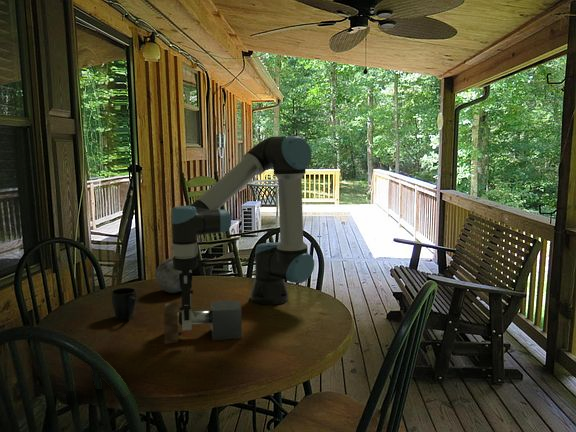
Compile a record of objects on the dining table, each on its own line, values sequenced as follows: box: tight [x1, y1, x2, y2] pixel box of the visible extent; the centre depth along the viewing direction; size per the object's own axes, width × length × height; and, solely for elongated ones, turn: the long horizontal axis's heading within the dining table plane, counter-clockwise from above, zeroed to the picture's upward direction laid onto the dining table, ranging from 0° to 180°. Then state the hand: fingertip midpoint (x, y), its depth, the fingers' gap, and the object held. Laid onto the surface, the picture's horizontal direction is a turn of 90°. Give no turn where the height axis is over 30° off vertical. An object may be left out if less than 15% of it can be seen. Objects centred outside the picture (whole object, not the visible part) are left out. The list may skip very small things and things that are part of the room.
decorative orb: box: [154, 257, 193, 294], centre depth 187 cm, size 15×14×15 cm
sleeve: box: [210, 299, 242, 341], centre depth 144 cm, size 9×9×10 cm
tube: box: [178, 309, 212, 326], centre depth 142 cm, size 14×5×5 cm, turn 102°
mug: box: [110, 287, 137, 321], centre depth 156 cm, size 8×12×10 cm
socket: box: [163, 302, 180, 344], centre depth 140 cm, size 4×9×10 cm, turn 12°
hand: (187, 321), depth 141 cm, fingers open, 13 cm apart
